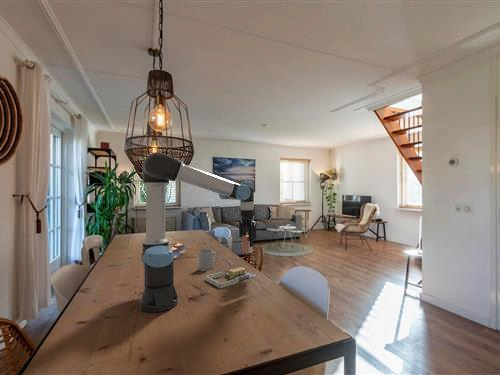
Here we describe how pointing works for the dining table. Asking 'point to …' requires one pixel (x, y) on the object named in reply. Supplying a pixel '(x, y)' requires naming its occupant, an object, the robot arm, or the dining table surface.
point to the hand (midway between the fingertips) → (247, 251)
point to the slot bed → (242, 276)
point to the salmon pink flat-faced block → (245, 243)
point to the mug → (206, 259)
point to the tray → (220, 285)
